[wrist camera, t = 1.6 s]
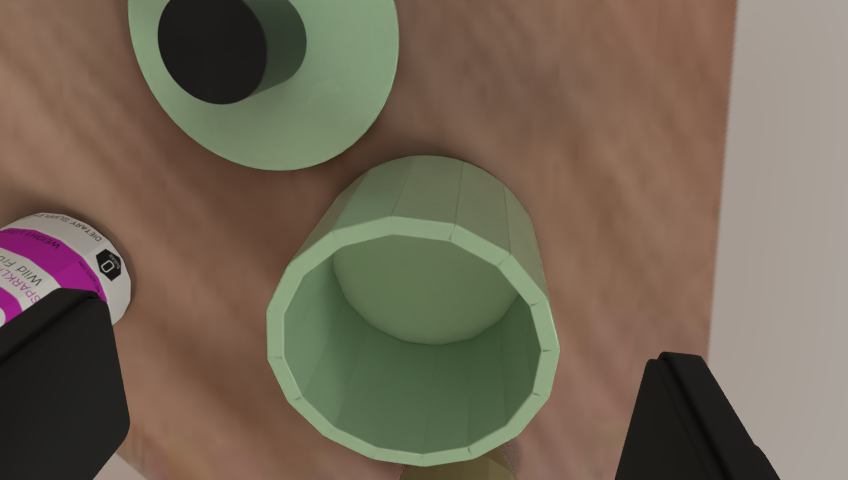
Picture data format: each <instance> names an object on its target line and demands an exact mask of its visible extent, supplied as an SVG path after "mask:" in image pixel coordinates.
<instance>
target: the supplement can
mask: <svg viewBox="0 0 848 480" xmlns="http://www.w3.org/2000/svg"><path fill="white" fill-rule="evenodd" d="M57 288H73V289H83V290H92V291H95V292H97V293H98V295H99V296H100V298H101V300H104V301H105V302H106V303H107V304H108V307H109V311H110V316H111V321H112V326H113V325H114V324H115V323H116V322H117V321H118V320H119V319H120V318H121V317H123V314H124V312H125V310H126V308H127V306H128V304H129V302H130V288H131V281H130V278H129V275H128V272H127V270H126V267H125V264H124V261H123V259H122V257H121V256H120V255H119V253H118V252H117V251H116V249H115V248H114V247H113V245H112V244H111V243H110V241H109V240H108V239H106V238H105V237H104V236H102V235H101V234H100V233H99V232H97V231H96V230H95V229H93V228H92V227H91V226H89V225H88V224H86V223H83V222H81V221H79V220H76V219H74V218H71V217H69V216H66V215H63V214H52V213H38V214H35V215H31V216H28V217H24V218H21V219H19V220H17V221H15V222H13V223H11V224H9V225H7V226H5V227H3V228H1V229H0V327H1V326H2V325H4V324H5V323H7V322H8V321H10V320H11V319H12V318H14V317H15V316H17V315H18V314H20V313H21V312H23V311H24V310H25V309H27V308H28V307H30V306H31V305H33V304H34V303H36V302H37V301H38V300H40V299H41V298H43V297H44V296H46V295H47V294H48V293H50V292H51V291H53V290H55V289H57Z"/></svg>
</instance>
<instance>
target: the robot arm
mask: <svg viewBox="0 0 848 480" xmlns="http://www.w3.org/2000/svg"><path fill="white" fill-rule="evenodd" d="M129 426H130V417H129V412H128V406H127V401H126V396H125V391H124V385H123V380H122V375H121V369H120V364H119V359H118V353H117V348H116V343H115V337H114V332H113V327H112V321H111V316H110V311H109V307H108V304H107V303H106V302H105V301H104V300H101V298H100V296H99V295H98V293H97V292H95V291H92V290H83V289H73V288H57V289H55V290H53V291H51V292H50V293H48V294H47V295H46V296H44V297H43V298H41V299H40V300H38V301H37V302H36V303H34V304H33V305H31V306H30V307H28V308H27V309H25V310H24V311H23V312H21V313H20V314H18V315H17V316H15V317H14V318H12V319H11V320H10V321H8V322H7V323H5V324H4V325H2V326H1V327H0V480H93V478H94V477H95V476H96V475H97V474H98V472H99V471H100V470H101V469H102V467H103V466H104V465H105V464H106V462H107V461H108V460H109V459H110V457H111V456H112V455H113V454H114V452H115V451H116V450H117V449H118V447H119V446H120V445H121V444H122V442H123V441H124V439H125V438H126V436H127V433H128V430H129ZM615 480H780V479H779V477H778V475H777V474H776V472H775V470H774V469H773V467H772V465H771V464H770V462H769V460H768V459H767V457H766V455H765V454H764V453H763V452H762V451H761V449H760V448H759V447H758V446H756V445H755V444H754V443H753V441H752V439H751V438H750V436H749V435H748V433H747V431H746V429H745V428H744V426H743V424H742V423H741V421H740V419H739V418H738V416H737V414H736V413H735V411H734V409H733V408H732V406H731V405H730V403H729V401H728V399H727V398H726V396H725V395H724V393H723V391H722V390H721V388H720V386H719V385H718V383H717V381H716V380H715V378H714V376H713V375H712V373H711V371H710V370H709V368H708V366H707V365H706V363H705V361H704V360H703V359H702V357H701V356H698V355H692V354H683V353H673V352H662V353H661V354H660V355H659V357H658V359H650V360H648V362H647V364H646V367H645V370H644V374H643V377H642V381H641V385H640V388H639V392H638V396H637V399H636V403H635V407H634V410H633V414H632V418H631V421H630V425H629V429H628V432H627V436H626V440H625V443H624V447H623V451H622V454H621V458H620V462H619V465H618V469H617V473H616V476H615Z"/></svg>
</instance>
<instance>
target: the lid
mask: <svg viewBox="0 0 848 480" xmlns="http://www.w3.org/2000/svg"><path fill="white" fill-rule="evenodd" d="M128 20H129V28H130V34H131V40H132V44H133V48H134V51H135V55H136V58H137V61H138V64H139V66H140V68H141V71H142V73H143V76H144V78H145V80H146V82H147V84H148V85H149V87H150V89H151V91H152V93H153V95H154V96H155V98H156V99H157V100H158V102H159V103H160V105H161V106H162V108H163V109H164V110H165V112H166V113H167V114H168V115H169V116H170V117H171V119H172V120H173V121H174V122H175V123H176V124H177V125H178V126H179V127H180V128H181V129H182V130H183V131H184V132H185V133H186V134H187V135H188V136H190V137H191V138H192V139H194V140H195V141H196V142H198V143H199V144H200V145H202V146H203V147H205V148H207V149H208V150H210V151H212V152H213V153H215V154H217V155H219V156H221V157H223V158H225V159H227V160H230V161H232V162H235V163H238V164H241V165H244V166H247V167H252V168H257V169H263V170H276V171H284V170H297V169H302V168H306V167H311V166H314V165H317V164H320V163H323V162H325V161H328V160H330V159H331V158H333V157H335V156H337V155H339V154H341V153H342V152H344V151H345V150H346V149H348V148H349V147H350V146H352V145H353V144H354V143H355V142H356V141H357V140H358V139H360V138H361V137H362V136H363V135H364V134H365V133H366V131H367V130H368V129H369V128H370V126H371V125H372V124H373V123H374V121H375V120H376V119H377V117H378V115H379V114H380V112H381V110H382V108H383V107H384V105H385V103H386V101H387V98H388V96H389V94H390V91H391V89H392V86H393V82H394V78H395V74H396V71H397V64H398V56H399V25H398V16H397V10H396V6H395V2H394V0H128Z"/></svg>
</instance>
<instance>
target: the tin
mask: <svg viewBox="0 0 848 480" xmlns="http://www.w3.org/2000/svg"><path fill="white" fill-rule="evenodd" d="M266 324H267V357H268V358H267V359H268V362H269V364H270V366H271V368H272V370H273V372H274V374H275V376H276V378H277V380H278V382H279V385H280V387H281V389H282V391H283V393H284V395H285V397H286V399H287V401H288V402H289V403H290V404H291V405H292V406H293V407H294V408H295V409H296V410H297V411H298V412H299V413H300V414H301V415H302V416H303V417H304V418H305V419H306V420H307V421H308V422H309V423H311V424H312V425H313V426H314V427H315V428H316V429H317V430H318V431H319V432H320V433H321V434H322V435H323V436H326V438H328V439H331V440H333V441H335V442H337V443H339V444H341V445H343V446H345V447H347V448H349V449H352V450H354V451H356V452H358V453H360V454H362V455H364V456H366V457H368V458H372V459H374V460H381V461H388V462H394V463H401V464H408V465H415V466H424V467H427V466H433V465H440V464H446V463H452V462H459V461H465V460H471V459H474V458H477V457H479V456H481V455H483V454H485V453H486V452H488V451H490V450H492V449H494V448H496V447H498V446H499V445H501V444H503V443H505V442H507V441H509V440H511V439H512V438H514V437H516V436H518V434H520V433H521V431H522V430H523V429H524V428H525V426H526V425H527V424H528V423H529V422H530V420H531V419H532V418H533V417H534V415H535V414H536V413H537V412H538V410H539V409H540V408H541V407H542V406H543V404H544V403H545V402H546V401H547V399H548V397H549V396H550V393H551V389H552V384H553V380H554V376H555V371H556V367H557V363H558V358H559V354H560V344H559V340H558V335H557V330H556V326H555V321H554V317H553V312H552V307H551V303H550V298H549V293H548V289H547V284H546V279H545V275H544V270H543V265H542V261H541V256H540V252H539V248H538V244H537V240H536V236H535V232H534V228H533V224H532V220H531V218H530V216H529V215H528V214H527V213H526V211H525V209H524V208H523V206H522V205H521V203H520V202H519V200H518V199H517V198H516V197H515V195H514V194H513V193H512V192H511V191H510V190H509V189H508V188H507V187H506V186H505V185H504V184H503V183H501V182H500V181H499V180H498V179H497V178H495V177H494V176H492V175H491V174H489V173H487V172H486V171H484V170H483V169H480V168H478V167H476V166H474V165H472V164H470V163H467V162H464V161H461V160H457V159H454V158H448V157H443V156H432V155H419V156H408V157H403V158H398V159H394V160H391V161H388V162H385V163H383V164H380V165H378V166H376V167H373V168H371V169H369V170H368V171H367V172H365V173H364V174H363V175H361V176H360V177H358V178H357V179H356V180H355V181H354V182H352V183H351V184H350V185H349V186H348V187H347V188H346V189H345V190H343V191H342V192H341V193H340V194H339V195H338V196H337V197H336V199H335V200H334V202H333V203H332V204H331V206H330V207H329V209H328V210H327V211H326V213H325V214H324V215H323V217H322V218H321V220H320V221H319V222H318V224H317V225H316V226H315V228H314V229H313V231H312V232H311V233H310V235H309V236H308V237H307V239H306V240H305V242H304V243H303V244H302V246H301V247H300V248H299V250H298V251H297V253H296V254H295V255H294V257H293V258H292V260H291V261H290V262H289V264H288V265H287V267H286V269H285V271H284V273H283V275H282V277H281V279H280V281H279V283H278V286H277V288H276V290H275V292H274V294H273V296H272V298H271V300H270V302H269V304H268V306H267V310H266Z"/></svg>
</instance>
